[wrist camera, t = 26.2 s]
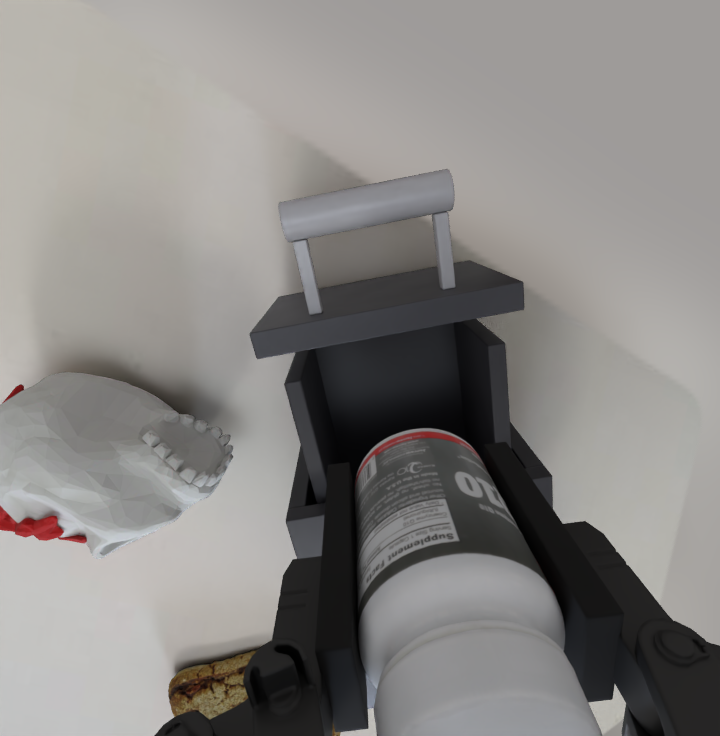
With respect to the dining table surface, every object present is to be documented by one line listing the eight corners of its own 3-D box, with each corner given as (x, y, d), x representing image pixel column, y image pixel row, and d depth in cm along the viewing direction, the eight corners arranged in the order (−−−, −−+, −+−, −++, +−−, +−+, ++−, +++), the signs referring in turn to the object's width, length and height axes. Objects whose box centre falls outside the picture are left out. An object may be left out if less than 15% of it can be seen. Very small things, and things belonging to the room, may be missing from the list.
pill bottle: (504, 495, 15) (668, 787, 8) (396, 550, 16) (444, 868, 8) (444, 399, 14) (572, 641, 6) (328, 465, 15) (308, 756, 7)
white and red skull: (258, 427, 28) (124, 518, 33) (130, 299, 25) (0, 420, 29) (205, 531, 20) (37, 632, 25) (4, 362, 17) (-148, 516, 21)
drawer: (256, 212, 23) (213, 213, 16) (462, 171, 23) (518, 152, 15) (326, 482, 30) (318, 572, 22) (486, 454, 29) (534, 536, 22)
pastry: (295, 771, 44) (291, 809, 41) (138, 719, 40) (123, 758, 37) (387, 677, 39) (390, 713, 36) (218, 608, 35) (207, 643, 32)
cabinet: (304, 422, 29) (285, 521, 20) (486, 390, 28) (552, 475, 19) (345, 578, 34) (345, 712, 25) (499, 552, 34) (556, 680, 24)
